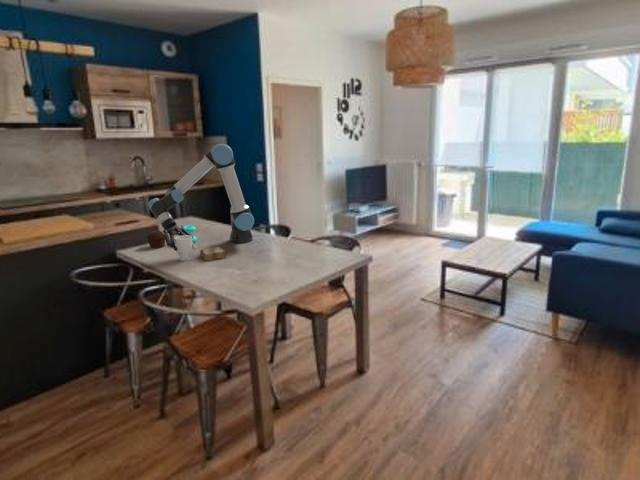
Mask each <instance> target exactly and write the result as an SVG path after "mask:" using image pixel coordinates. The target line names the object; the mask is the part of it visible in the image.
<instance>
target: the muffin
mask: <svg viewBox="0 0 640 480" xmlns="http://www.w3.org/2000/svg"><path fill="white" fill-rule="evenodd" d="M162 232H163V230H153V231H151V232H149V233H148V234H147V236H146V239H147V241H148V244H149V247H150V248H151V249H161V248H164V247H165V246H166V240H165V238H164V235H163V234H162ZM150 248H149V249H150Z"/></svg>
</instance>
